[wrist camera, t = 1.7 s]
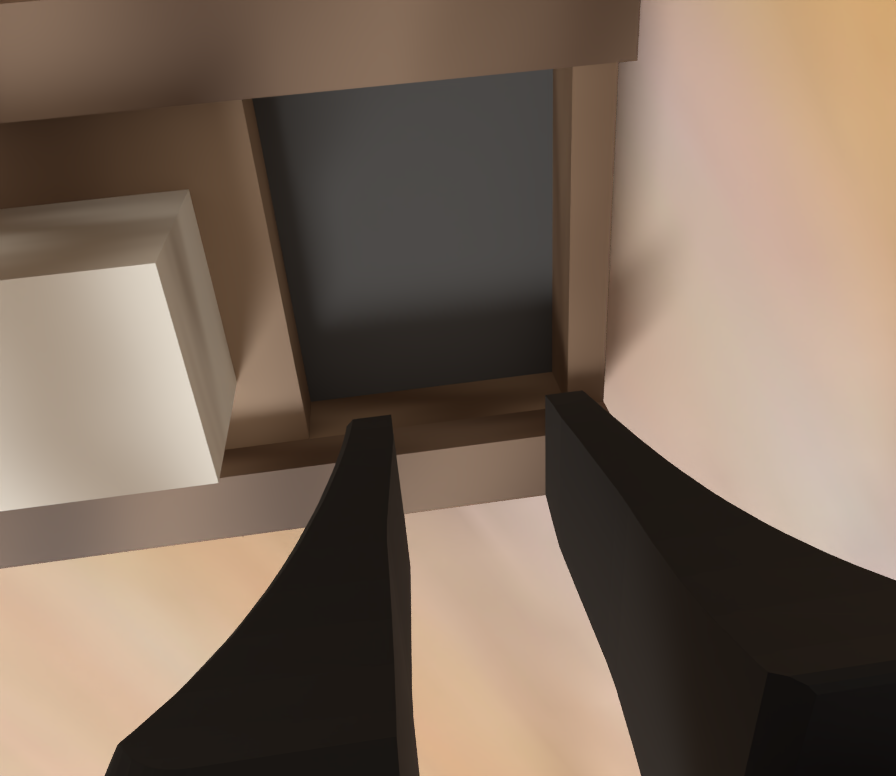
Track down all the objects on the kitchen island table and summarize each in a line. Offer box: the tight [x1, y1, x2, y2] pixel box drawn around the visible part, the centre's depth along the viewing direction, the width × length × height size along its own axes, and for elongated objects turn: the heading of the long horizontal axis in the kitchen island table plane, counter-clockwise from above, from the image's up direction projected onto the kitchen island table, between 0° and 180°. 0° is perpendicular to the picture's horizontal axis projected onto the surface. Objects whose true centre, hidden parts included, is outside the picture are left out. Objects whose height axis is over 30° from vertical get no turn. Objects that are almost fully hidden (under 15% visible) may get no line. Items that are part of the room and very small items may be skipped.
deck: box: [0, 0, 641, 569], centre depth 19 cm, size 26×13×3 cm, turn 94°
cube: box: [0, 189, 237, 511], centre depth 17 cm, size 5×5×4 cm
